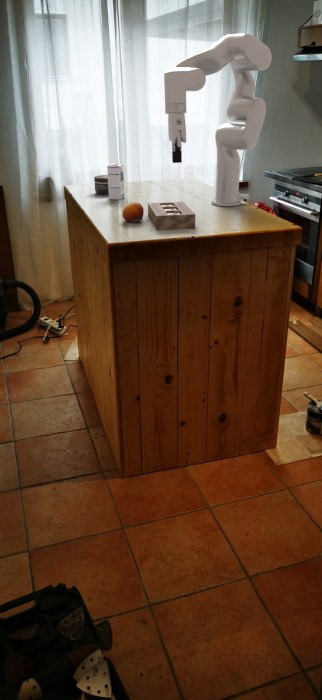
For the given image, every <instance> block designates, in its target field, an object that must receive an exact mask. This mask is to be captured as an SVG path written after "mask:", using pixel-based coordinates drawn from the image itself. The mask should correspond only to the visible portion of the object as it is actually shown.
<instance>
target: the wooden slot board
mask: <svg viewBox="0 0 322 700" xmlns="http://www.w3.org/2000/svg"><path fill="white" fill-rule="evenodd" d="M161 205H173V206H161ZM164 209H176V210H164ZM167 213H180V214H171V215H168V214H167ZM147 217H148V218H149V219H148V220H150V221H151V224H152V225H153V227H154V229H155V230H156V231H163V230H164V231H165V230H166V231H167V230H187V229H188V230H189V229H190V230H192V229H196V213H195V211H193V210H192V209H191V207H189V206H188V205H187V204H186V203H185V202H184V201H172V202H171V201H169V202H167V201H166V202H148V203H147Z"/></svg>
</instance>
